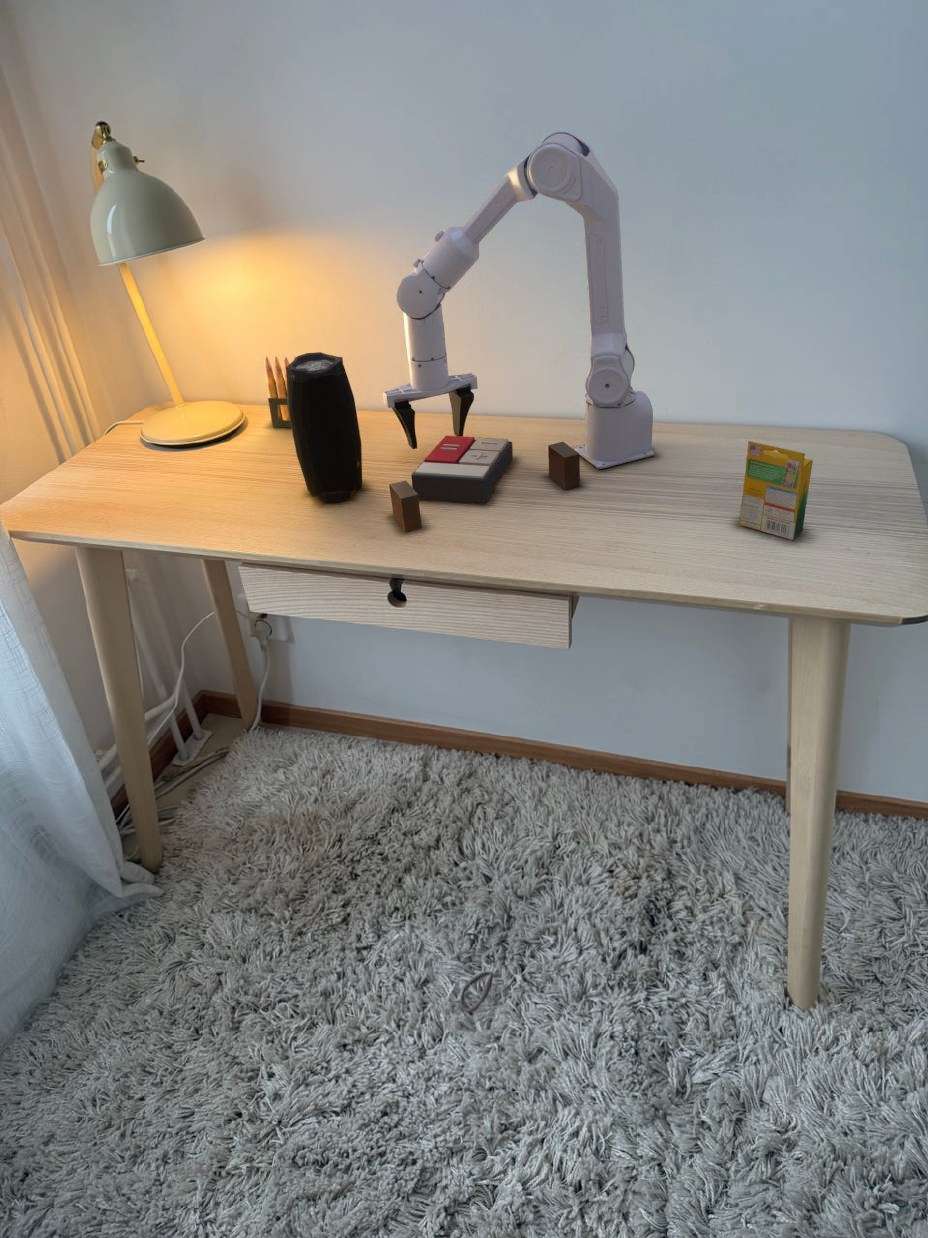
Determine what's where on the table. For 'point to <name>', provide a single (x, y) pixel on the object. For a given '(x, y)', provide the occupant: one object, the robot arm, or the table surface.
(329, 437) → the portable speaker
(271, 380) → the ammunition clip
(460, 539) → the table surface
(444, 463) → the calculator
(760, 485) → the crayon box
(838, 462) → the table surface
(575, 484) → the corner blocks
